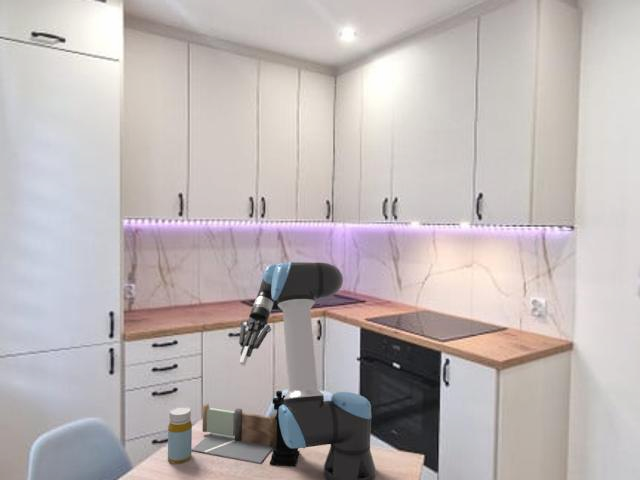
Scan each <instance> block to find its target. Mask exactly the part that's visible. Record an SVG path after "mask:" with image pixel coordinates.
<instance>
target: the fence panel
mask: <svg viewBox="0 0 640 480" xmlns="http://www.w3.org/2000/svg"><path fill="white" fill-rule="evenodd" d="M209 406H210V404H209V403H204V404H202V430H201V431H202V432H203V433H209V434H210V433H216V434H222V435H228V436H234V435H235V410H234V411H233V410H228V409H221V408H214V407H209Z"/></svg>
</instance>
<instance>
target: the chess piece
mask: <svg viewBox="0 0 640 480" xmlns="http://www.w3.org/2000/svg"><path fill="white" fill-rule="evenodd" d="M275 396H276V397H273V398H272V404H273V410H276V413H275V414H276V416H275V419H276V420H277V433H276V445H275V447H274V448H273V449H272V455H271V459H270V461H269V466H280V467H292V468H293V467H295V468H297V463H298V460H299V456H300V452H301V451H300V450H299V448H294V449H293V448H289V447H288V446H287V445H286V444H285V442H284V439H283V437H282V433H281V429H280V424H279V412H278V410H279V407H280V406H281V405H284V397H285V396H286V395H283V391H282V390H277V391H276V393H275Z"/></svg>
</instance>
